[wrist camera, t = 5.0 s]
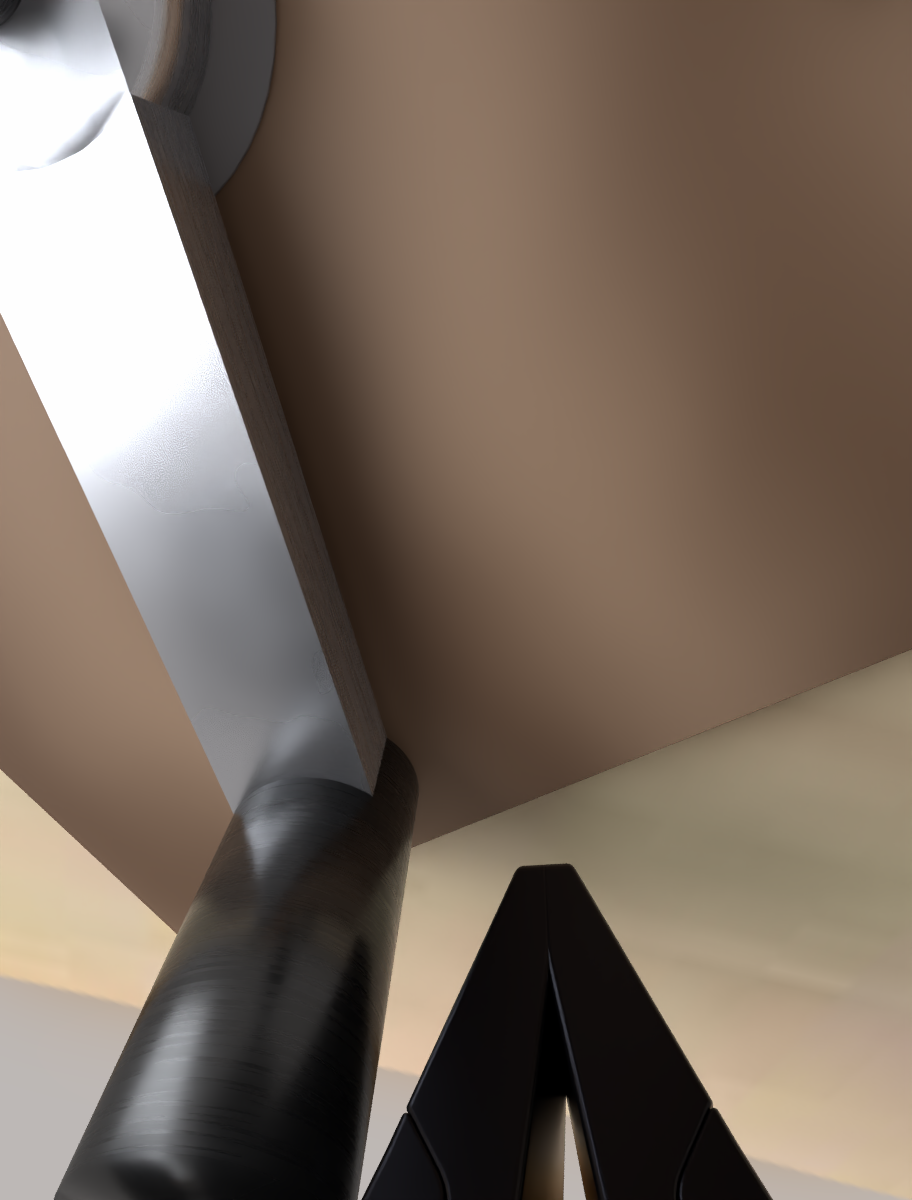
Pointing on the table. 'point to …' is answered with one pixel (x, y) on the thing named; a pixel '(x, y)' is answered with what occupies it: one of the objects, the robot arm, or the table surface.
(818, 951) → the table surface
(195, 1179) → the lever
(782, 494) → the press bench
